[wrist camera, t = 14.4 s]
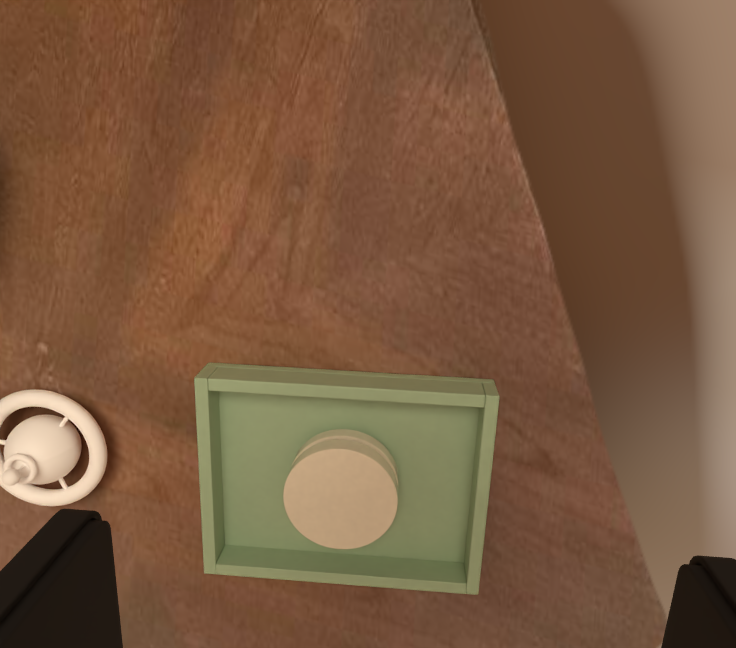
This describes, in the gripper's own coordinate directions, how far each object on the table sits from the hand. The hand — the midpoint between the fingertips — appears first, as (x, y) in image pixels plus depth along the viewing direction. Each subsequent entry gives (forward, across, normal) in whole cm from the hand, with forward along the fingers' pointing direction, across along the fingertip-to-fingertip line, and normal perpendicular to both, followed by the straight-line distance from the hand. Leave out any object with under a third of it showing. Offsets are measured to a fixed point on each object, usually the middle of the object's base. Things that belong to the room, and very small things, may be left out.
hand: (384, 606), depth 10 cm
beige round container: (+26, +3, +13) cm, 29 cm away
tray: (+26, +3, +13) cm, 29 cm away
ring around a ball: (+26, +22, +12) cm, 36 cm away
